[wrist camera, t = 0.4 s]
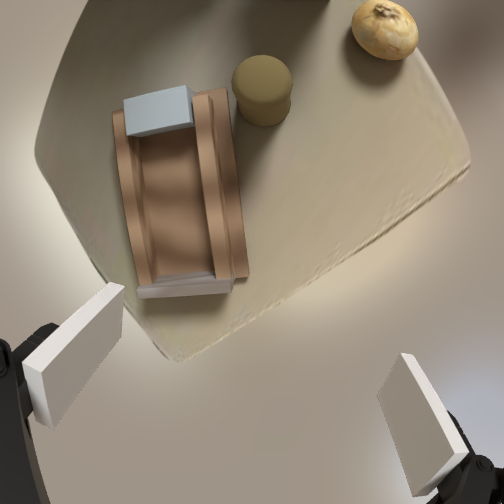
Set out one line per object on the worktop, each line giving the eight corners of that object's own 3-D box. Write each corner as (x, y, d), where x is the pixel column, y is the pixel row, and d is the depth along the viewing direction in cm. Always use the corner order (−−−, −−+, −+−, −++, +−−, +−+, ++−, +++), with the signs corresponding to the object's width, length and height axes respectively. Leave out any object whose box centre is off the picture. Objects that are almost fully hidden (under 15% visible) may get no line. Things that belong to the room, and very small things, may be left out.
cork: (254, 136, 35) (248, 126, 25) (227, 93, 34) (210, 68, 23) (300, 111, 34) (313, 91, 23) (273, 68, 33) (274, 34, 22)
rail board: (116, 113, 35) (94, 107, 30) (227, 89, 34) (219, 78, 28) (142, 282, 41) (126, 299, 35) (249, 273, 40) (246, 291, 34)
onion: (404, 18, 29) (426, -3, 23) (408, 71, 32) (434, 57, 25) (345, 6, 30) (359, -20, 23) (347, 60, 32) (363, 41, 25)
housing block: (137, 105, 33) (123, 99, 30) (194, 92, 33) (186, 85, 29) (140, 137, 34) (126, 135, 31) (198, 126, 34) (189, 122, 30)
